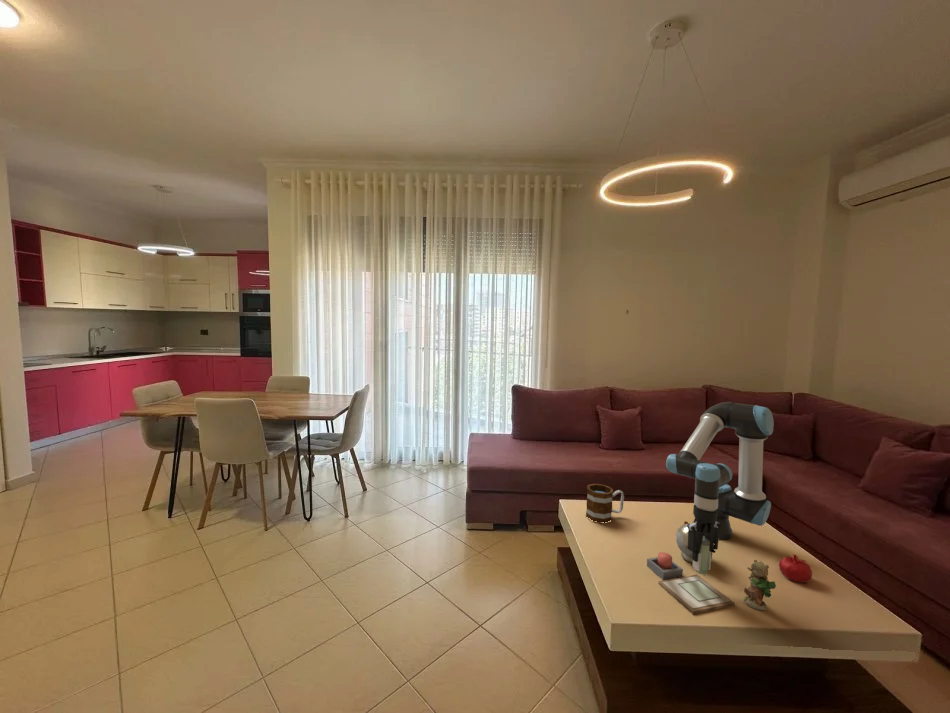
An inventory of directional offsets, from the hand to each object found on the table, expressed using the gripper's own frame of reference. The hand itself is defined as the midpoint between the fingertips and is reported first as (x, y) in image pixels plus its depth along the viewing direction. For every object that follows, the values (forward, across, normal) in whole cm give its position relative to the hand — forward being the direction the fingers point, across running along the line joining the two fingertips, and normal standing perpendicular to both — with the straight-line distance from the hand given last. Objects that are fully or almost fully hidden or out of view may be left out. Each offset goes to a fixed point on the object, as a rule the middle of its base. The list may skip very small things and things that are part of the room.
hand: (701, 568), depth 141 cm
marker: (+1, 0, 0) cm, 1 cm away
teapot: (+8, -12, -15) cm, 21 cm away
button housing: (+8, +6, -12) cm, 15 cm away
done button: (+5, +6, -12) cm, 14 cm away
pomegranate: (+8, -42, +3) cm, 43 cm away
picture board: (+8, +5, +2) cm, 9 cm away
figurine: (+8, -12, +12) cm, 19 cm away
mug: (+8, +3, -57) cm, 57 cm away
